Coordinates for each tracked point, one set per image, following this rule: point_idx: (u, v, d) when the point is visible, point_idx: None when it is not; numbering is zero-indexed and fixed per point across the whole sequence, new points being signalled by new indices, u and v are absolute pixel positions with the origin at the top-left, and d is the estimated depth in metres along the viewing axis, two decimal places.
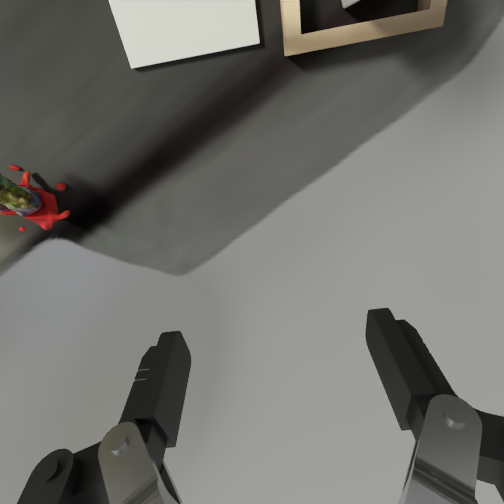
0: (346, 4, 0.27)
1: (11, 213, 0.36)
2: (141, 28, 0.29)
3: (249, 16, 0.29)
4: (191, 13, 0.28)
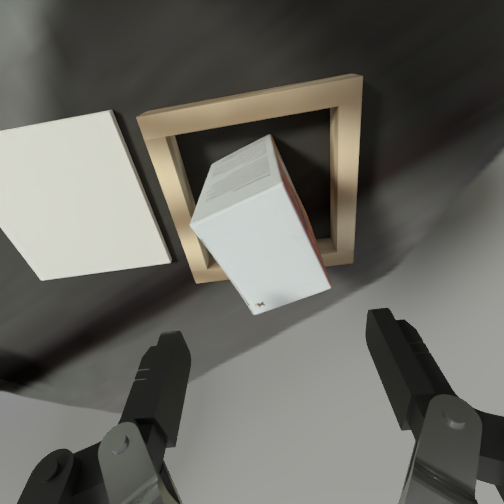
0: None
1: None
2: (45, 253, 0.28)
3: (155, 245, 0.28)
4: (94, 243, 0.27)
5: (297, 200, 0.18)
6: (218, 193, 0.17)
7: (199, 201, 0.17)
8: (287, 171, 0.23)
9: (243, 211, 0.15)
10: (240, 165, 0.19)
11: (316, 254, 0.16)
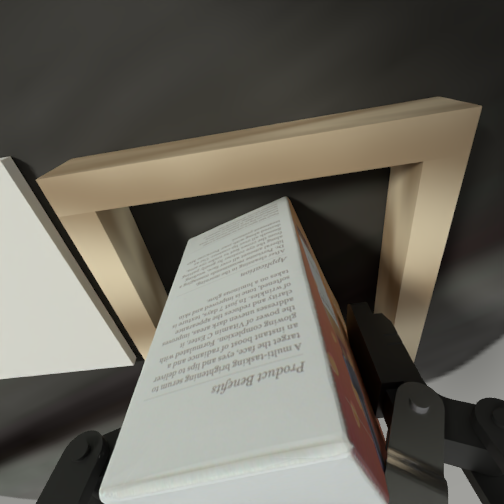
0: None
1: None
2: None
3: (109, 344, 0.18)
4: (16, 342, 0.18)
5: (349, 362, 0.09)
6: (181, 373, 0.07)
7: (143, 374, 0.08)
8: (313, 254, 0.14)
9: (233, 488, 0.05)
10: (233, 276, 0.10)
11: None
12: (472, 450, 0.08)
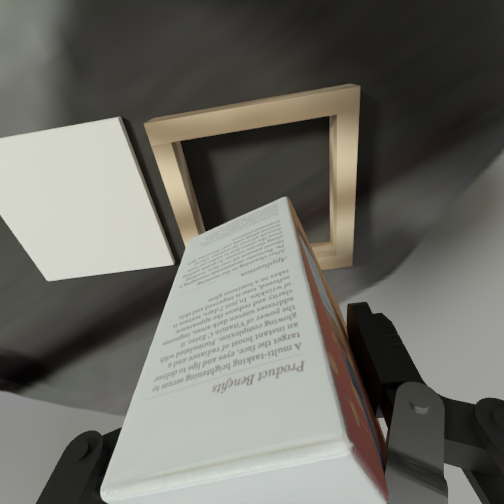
0: None
1: None
2: (52, 254, 0.29)
3: (159, 247, 0.28)
4: (100, 244, 0.28)
5: (349, 362, 0.09)
6: (182, 373, 0.07)
7: (144, 373, 0.08)
8: (313, 254, 0.14)
9: (233, 487, 0.05)
10: (233, 276, 0.10)
11: None
12: (472, 450, 0.08)
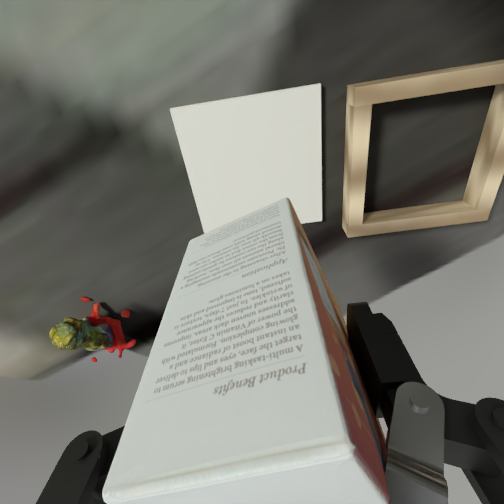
0: None
1: None
2: (218, 210, 0.33)
3: (315, 203, 0.32)
4: (264, 201, 0.32)
5: (350, 363, 0.09)
6: (184, 375, 0.07)
7: (145, 375, 0.08)
8: (314, 255, 0.14)
9: (235, 489, 0.05)
10: (234, 277, 0.10)
11: None
12: (472, 450, 0.08)
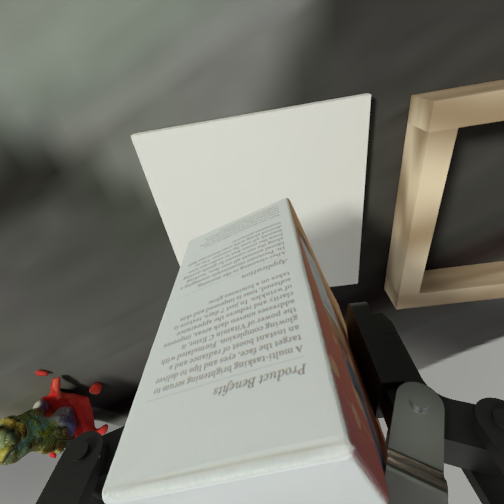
0: None
1: None
2: None
3: (350, 262, 0.23)
4: None
5: (350, 364, 0.09)
6: (183, 375, 0.07)
7: (145, 375, 0.08)
8: (314, 255, 0.14)
9: (235, 490, 0.05)
10: (234, 278, 0.10)
11: None
12: (472, 450, 0.08)
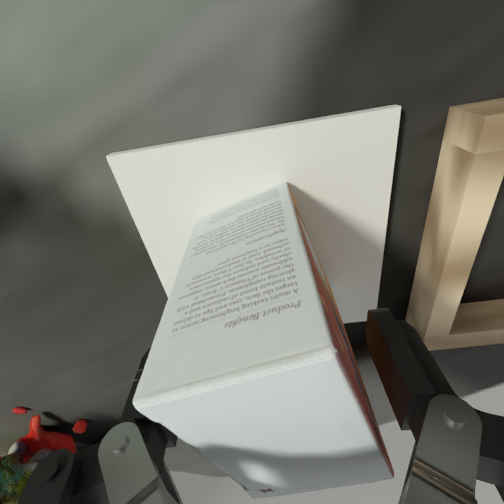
0: None
1: None
2: None
3: (367, 297, 0.19)
4: None
5: (337, 318, 0.10)
6: (197, 317, 0.09)
7: (163, 321, 0.10)
8: None
9: (243, 392, 0.07)
10: (240, 245, 0.11)
11: (378, 442, 0.09)
12: None
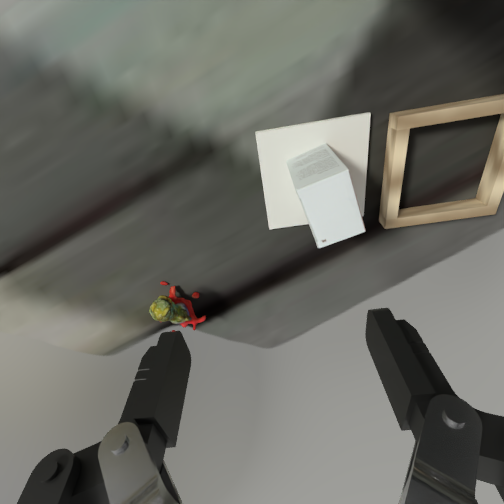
0: None
1: None
2: (282, 208, 0.42)
3: (359, 202, 0.41)
4: None
5: None
6: (307, 175, 0.31)
7: (294, 179, 0.31)
8: None
9: (326, 183, 0.28)
10: (313, 161, 0.33)
11: (359, 210, 0.30)
12: None
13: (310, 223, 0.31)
